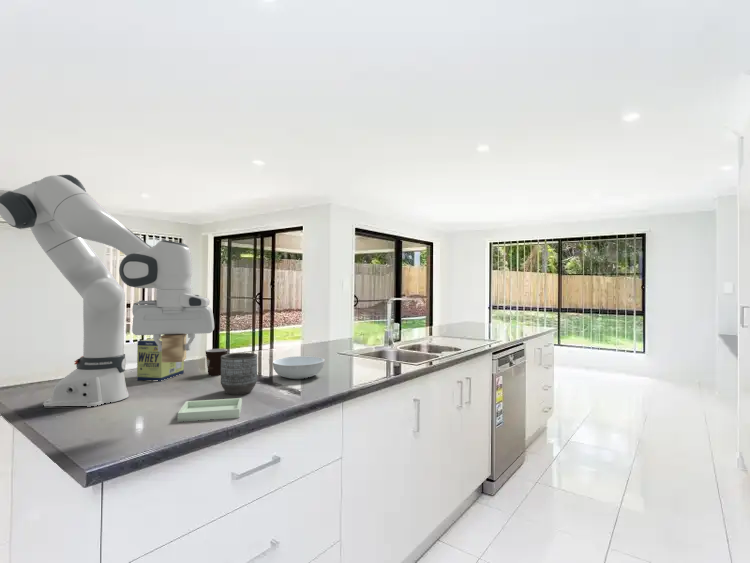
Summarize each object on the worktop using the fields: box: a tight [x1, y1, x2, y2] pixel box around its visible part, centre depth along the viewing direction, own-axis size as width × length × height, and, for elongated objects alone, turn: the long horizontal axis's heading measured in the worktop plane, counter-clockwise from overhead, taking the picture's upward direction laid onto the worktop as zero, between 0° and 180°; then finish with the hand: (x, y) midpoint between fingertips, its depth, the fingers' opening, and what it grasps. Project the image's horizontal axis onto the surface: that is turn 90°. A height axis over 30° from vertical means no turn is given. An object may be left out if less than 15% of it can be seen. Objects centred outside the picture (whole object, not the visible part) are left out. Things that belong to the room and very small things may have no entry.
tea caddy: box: [161, 334, 188, 363], centre depth 114 cm, size 5×5×7 cm
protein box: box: [136, 337, 185, 382], centre depth 169 cm, size 10×16×16 cm
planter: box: [220, 352, 258, 396], centre depth 146 cm, size 12×12×13 cm
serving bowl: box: [272, 355, 325, 380], centre depth 171 cm, size 21×21×7 cm
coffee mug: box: [205, 348, 228, 377], centre depth 173 cm, size 12×9×10 cm
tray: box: [177, 397, 243, 423], centre depth 121 cm, size 16×12×2 cm
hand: (174, 350), depth 114 cm, fingers closed on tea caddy, 5 cm apart
